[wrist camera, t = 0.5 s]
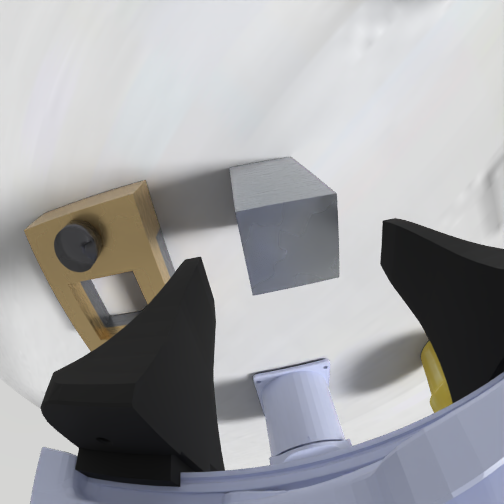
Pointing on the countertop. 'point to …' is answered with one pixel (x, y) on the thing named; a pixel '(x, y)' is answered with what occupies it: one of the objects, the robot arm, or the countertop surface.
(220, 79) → the countertop surface
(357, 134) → the countertop surface
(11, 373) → the countertop surface
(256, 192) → the grey metal block
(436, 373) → the plant pot
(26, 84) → the countertop surface
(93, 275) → the brass plate with knob
